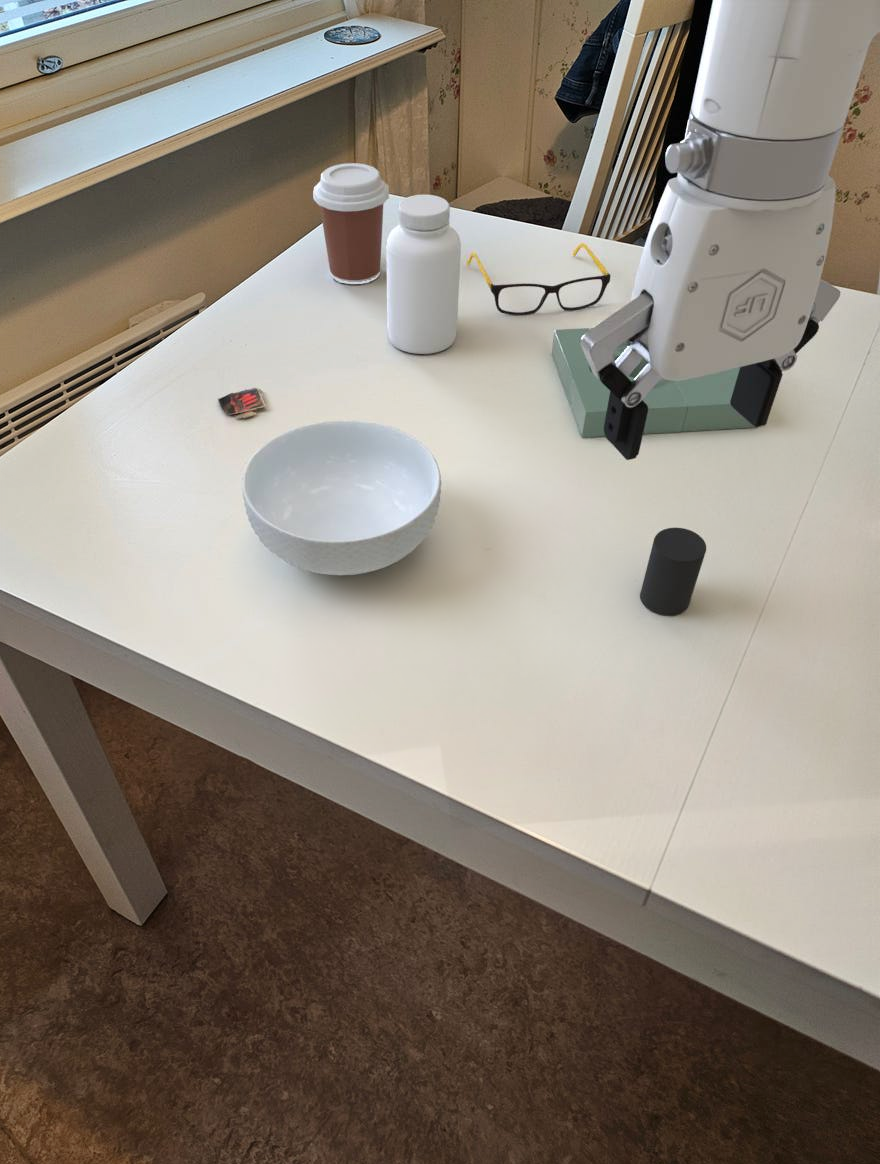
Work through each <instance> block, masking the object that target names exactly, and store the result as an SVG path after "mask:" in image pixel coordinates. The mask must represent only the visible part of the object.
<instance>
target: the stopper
mask: <svg viewBox="0 0 880 1164" xmlns="http://www.w3.org/2000/svg"><path fill="white" fill-rule="evenodd" d="M706 552H707V543H706V541H705V540H704V538H703V537H701V535H699V534H698V533H697V532H695V531H693V530H690V529H687V528H683V527H668V528H667V527H666V528H664V529H662V530H660V531H658V533H656V535H655V536H654V538H653V541H652V546H651V550H650V554H649V558H648V561H647V565H646V569H645V573H644V577H643V581H642V585H641V588H640V592H639V598H640V602H641V603H642V605H643V606H644V607H645V608H646V609H647V610H649V611H650V612H652V613H655V614H657V615H659V616H660V615H661V616H668V617H672V616H678V615H681V614H682V613H684V612H686V611H687V610H688V608H689V606H690V604H691V600H692V597H693V594H694V591H695V587H696V584H697V581H698V578H699V574H700V571H701V569H702V565H703V563H704V559H705V556H706V554H707V553H706Z"/></svg>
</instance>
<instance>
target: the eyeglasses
mask: <svg viewBox="0 0 880 1164" xmlns="http://www.w3.org/2000/svg"><path fill="white" fill-rule="evenodd" d="M581 248H583V249H585V252H587V254H588V255H589V257H590V258H591V260H592V261H593V262H594V264H595V265H596V267H597V268H598V269H599V271H600V273H601V274H602V275H596V276H589V277H581V278H576V279H572V280H568V281H565V282H562V283H558V284H555V285H546V284H541V283H509V284H508V283H507V284H506V283H505V284H493V281H492V280H491V278H490V277H489V275H488V273H487V271H486V269H485V267H484V266H483V264H482V263H481V260H480V259H479V257H478V255H477V254H476V253H475V252H472V253H470V255H469V256H468V258H467V261H466V265H467V266H468V265H469V266H470V264H471V262H472V260H473V258H474V259H475V261H476V263H477V265H478V267H479V269H480V271H481V274H482V275H483V277H484V279H485V281H486V284H487V286H488V288H489V290H490V292H491V293H492V295H493V297H494V302H495V303H494V304H495V307H496V309H497V311H498V312H500V313H502V314H505V315H511V316H512V315H513V316H527V315H533V314H536V313H537V312H538V311H539V310H540V309H541V308H542V306H543V305H544V303H545V301H546V299H547V297H548V295H549V294H555V295H556V299H557V303H558V305H559V307H560V309H562V310H563V311H578V310H582V308H583V309H587V308H590V307H592V306H594V305H596V304H598V303H599V301H601V299H602V298H603V295H604V293H605V291H606V288H607V287H608V285H609V283H610V282H611V274H610V273H609V272H608V270H607V269H606V267H605V266H604V265H603V264H602V263H601V262H600V260H599V259H598V257H596V255H595V254H594V253H593V251H592V250H591V249H590V248H589V247H588V246H587V244H586V243H580V244H579V245H578V246H577V247H576V248H575V249H574V250H573V251H572V256H573V255H574V256H573V257H576V256H577V254H578V253H579V251H580V249H581ZM593 280H595V281H597V280H600V281H601V287H600V291H599V294H598V296H597V297H596V298H595V300H594V301H591V302H589V303H587V304H583V305H580V306H575V307H570V306H569V307H568V306H567V307H566V306H565V305H563V304H562V302H561V299H560V290H561V289H562V288H564V287H565V286H568V285H572V284H575V283H579V282H586V281H593ZM517 287H518V288H519V287H532V288H533V287H534V288H541V289H544V293H543V295H542V297H541V299H540V301H539V303H538V305H537V306H536V308H533V309H532V310H527V311H523V312H522V311H520V312H519V311H517V312H516V311H510V310H504V309H502V308H501V307H500V303H499V302H500V301H499V300H500V299H499V297H500V293H501V292H502V290H504V289H508V288H517Z"/></svg>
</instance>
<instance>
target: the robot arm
mask: <svg viewBox="0 0 880 1164" xmlns="http://www.w3.org/2000/svg"><path fill="white" fill-rule="evenodd" d="M879 33H880V0H712V3H711V8H710V13H709V18H708V24H707V29H706V34H705V37H704V38H705V39H704V44H703V47H702V52H701V57H700V62H699V68H698V73H697V76H696V77H697V78H696V83H695V87H694V92H693V96H692V102H691V106H690V110H689V116H688V119H687V123H686V124H687V125H686V129H685V133H684V139H682V140H681V141H680V142H677V143H671V144H670V145H669V146H668V147H667V149H666V151H665V155H664V157H665V158H664V160H665V161H664V162H665V163H664V164H665V167H666V170H667V171H668V172H669V173H670V174H676V173H677V175H676V176H675V177H673V178H670V179H669V180H668V181H667V183H666V186H665V187H664V190H663V193H662V196H661V197H660V199H659V200H660V201H659V202H658V206H657V208H656V211H655V214H654V216H653V219H652V222H651V224H650V227H649V231H648V234H647V237H646V240H645V243H644V246H643V250H642V253H641V257H640V261H639V263H638V264H639V265H638V268H637V272H636V276H635V280H634V283H633V288H632V292H631V298H630V302H628V303H627V304H625V305H624V306H622V307H621V308H620V309H618V310H616V311H615V312H614V313H613V314H611V315H609V316H608V317H607V318H605V319H604V320H603V321H601V322H600V323H598V324H597V325H596V326H594V327H592V328H593V329H591V330H590V331H588V332H587V333H585V334H584V335H583V337H582V338H581V341H580V343H581V347H582V349H583V352H584V354H585V357H586V359H587V362H588V363H589V369H590V371H591V372H592V373H593V374H594V375H595V376H596V377H597V378H598V379H599V380H600V381H601V382H602V383H603V384H604V385H605V386H606V387H607V388H608V389H609V390H610V395H609V401H608V406H607V412H606V417H605V423H604V434H605V436H604V437H605V439H606V440H607V441H608V442H609V443H610V444H611V445H612V446H613V448H615V449H616V450H617V452H618V453H620V455H621V456H622V457H623V458H624V459H625V460H626V461H630V460H634V459H636V458H637V457H638V456H639V454H640V449H641V445H642V441H643V436H644V434H643V432H644V427H645V422H646V418H647V413H648V406H647V404H646V403H645V402H644V401H643V399H644V397H645V396H646V395H647V394H648V393H649V392H650V391H651V389H652V388H653V387H654V386H655V385H656V384H657V383H658V382H659V380H660V379H661V378H664V379H666V380H670V381H680V380H686V379H691V378H695V377H700V376H704V375H709V374H713V373H717V372H722V371H726V370H730V369H734V368H739V367H740V370H739V373H738V376H737V380H736V383H735V387H734V390H733V393H732V397H731V400H730V404H731V406H732V407H733V408H734V409H735V410H736V411H737V412H738V413H740V414H741V415H742V416H743V417H744V418H745V419H746V420H747V421H749V422H750V423H751V424H752V425H753V426H755V427H754V428H759V427H763V426H766V425H767V424H768V420H769V416H770V414H771V412H772V407H773V405H774V402H775V399H776V395H777V393H778V391H779V388H780V384H781V380H782V378H783V376H784V374H783V372H786V371H789V370H790V369H792V368H793V367H794V366H795V364H796V362H797V360H798V355H797V354H798V353H799V352H800V351H801V350H802V349H803V348H804V347H805V346H806V345H807V344H808V343H809V342H810V341H811V340H812V339H813V338H814V337H815V336H816V335H817V333H818V332H819V329H820V325H819V323H820V322H823V321H824V320H825V318H826V317H827V315H828V314H829V313H830V312H831V310H832V309H833V308H834V306H835V305H836V303H837V302H838V301H839V298H840V297H841V290H840V289H838V288H836V287H835V286H834V285H832V284H831V283H829V282H828V281H826V280H824V279H822V278H821V277H822V274H823V271H824V266H825V262H826V258H827V253H828V250H829V249H828V248H829V245H830V239H831V234H832V233H831V232H832V228H833V219H834V211H835V202H836V181H835V179H833V177H831V176H830V172H831V167H832V165H833V161H834V158H835V155H836V152H837V150H838V146H839V143H840V139H841V136H842V133H843V131H844V127H845V123H846V120H847V118H848V114H849V111H850V108H851V104H852V101H853V99H854V95H855V92H856V90H857V86H858V82H859V80H860V76H861V72H862V69H863V67H864V63H865V61H866V57H867V54H868V51H869V48H870V44H871V42H872V40H873V39H874V37H876V36H877V34H879ZM624 342H626V344H627V345H628V347H627V348H626V349H625V351H624V352H623V353H622V354H621V355H620V357H619V358H618V359H617V360H616V361H615V359H614V352H615V350H616V348H617V347H619V346H620V345H621V344H623V343H624ZM643 359H644V360H645V361H646V362H647V363H648V364H647V365H646V366H645V367H644V368H643V370H642V371H641V372H640V373H639V374H638V375H637V377H636V378H635V379H634V380H633V381H631V380H630V379H629V378H628V376H629V375H630V374H631V373H632V371H633V370H634V369H635V368H636V367H637V366H638V364H639V363H640V362H641V361H642V360H643Z"/></svg>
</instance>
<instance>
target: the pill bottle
mask: <svg viewBox="0 0 880 1164" xmlns="http://www.w3.org/2000/svg"><path fill="white" fill-rule="evenodd" d="M397 208H398V209H397V212H398V213H397V216H398V217H397V218H398V225H396V226H395V227H394V228H392V230H391V231H390V233H389V234H388V237H387V240H386V248H385V251H386V252H385V253H386V254H385V255H386V316H387V317H386V319H387V320H386V321H387V322H386V323H387V325H386V326H387V336H388V340H389V342H390V343H391V345H392V346H393V347H395V348H396V349H398V350H401V351H402V352H405V353H408V354H409V353H410V354H416V355H430V354H435V353H439V352H443V351H444V350H447V349H448V348H450V347H451V346H452V345H453V344H454V342H455V341H456V338H457V332H458V313H459V295H460V293H459V292H460V275H461V274H460V272H461V252H462V242H461V238H460V235H459V233H458V232H457V230H455V228H453V227H452V226H451V225H450V218H451V217H450V215H451V214H450V213H451V206H450V203H449V202H448V201H447V200H446V199H445V198H443V197H440V196H438V195H433V194H415V195H410V196H408V197H405V198H403V199H402V200H401V201H400V202H399V203H398V206H397Z"/></svg>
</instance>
